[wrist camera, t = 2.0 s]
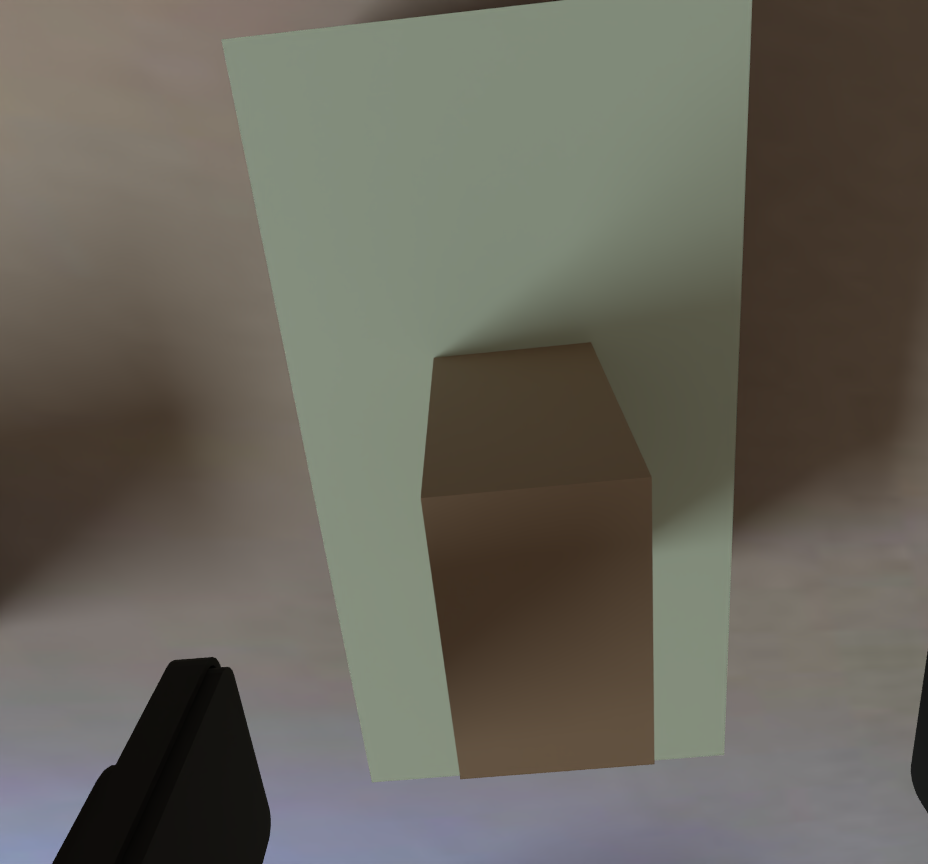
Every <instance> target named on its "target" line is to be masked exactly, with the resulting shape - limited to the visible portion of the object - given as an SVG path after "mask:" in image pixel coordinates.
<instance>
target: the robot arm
mask: <svg viewBox="0 0 928 864" xmlns="http://www.w3.org/2000/svg"><path fill="white" fill-rule="evenodd" d="M911 777H912V782H913V786H914V789H915V791H916V794H917V796H918V798H919V800H920V801H921V803H922V805H923V806H924V808H925V809H926V811H927V813H928V653H927V660H926V666H925V673H924V680H923V687H922V694H921V701H920V708H919V715H918V721H917V728H916V735H915V742H914V749H913V756H912V763H911ZM270 828H271V818H270V810H269V805H268V802H267V798H266V794H265V790H264V787H263V783H262V779H261V775H260V771H259V768H258V764H257V760H256V756H255V752H254V749H253V745H252V741H251V737H250V734H249V730H248V726H247V722H246V718H245V715H244V711H243V707H242V703H241V700H240V696H239V692H238V688H237V684H236V681H235V677H234V674H233V671H232V670H231V668H230V667H221V666H220V664H219V662H218V660H217V659H216V658H213V657H208V658H195V659H182V660H174V661H172V662H170V663H169V665H168V666H167V668H166V670H165V672H164V673H163V675H162V677H161V679H160V681H159V683H158V685H157V687H156V689H155V691H154V693H153V694H152V696H151V698H150V700H149V702H148V704H147V706H146V708H145V710H144V712H143V714H142V715H141V717H140V719H139V721H138V723H137V725H136V727H135V729H134V731H133V733H132V735H131V737H130V738H129V740H128V742H127V744H126V746H125V748H124V750H123V752H122V754H121V756H120V758H119V759H118V761H117V763H116V765H111V766H110V767H108V768H107V769H106V770H104V771H103V773H102V774H101V775H100V777H99V778H98V780H97V781H96V783H95V785H94V787H93V789H92V791H91V792H90V794H89V796H88V798H87V800H86V802H85V804H84V805H83V807H82V809H81V811H80V813H79V815H78V817H77V819H76V820H75V822H74V824H73V826H72V828H71V830H70V832H69V833H68V835H67V837H66V839H65V841H64V843H63V845H62V846H61V848H60V850H59V852H58V854H57V856H56V858H55V859H54V861H53V863H52V864H262V863H263V860H264V856H265V852H266V849H267V845H268V841H269V836H270Z"/></svg>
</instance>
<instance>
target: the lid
mask: <svg viewBox="0 0 928 864" xmlns="http://www.w3.org/2000/svg"><path fill="white" fill-rule="evenodd" d="M751 18H752V0H561V1H553V2H544V3H535V4H527V5H518V6H509V7H501V8H492V9H483V10H475V11H466V12H457V13H448V14H440V15H431V16H422V17H414V18H405V19H396V20H388V21H379V22H370V23H362V24H353V25H344V26H335V27H327V28H318V29H309V30H301V31H292V32H283V33H275V34H266V35H257V36H248V37H240V38H231V39H222V45H223V50H224V55H225V60H226V65H227V70H228V74H229V79H230V84H231V89H232V94H233V99H234V104H235V109H236V114H237V119H238V124H239V129H240V134H241V139H242V143H243V148H244V153H245V158H246V163H247V168H248V173H249V178H250V183H251V188H252V193H253V198H254V203H255V208H256V212H257V217H258V222H259V227H260V232H261V237H262V242H263V247H264V252H265V257H266V262H267V267H268V272H269V277H270V281H271V286H272V291H273V296H274V301H275V306H276V311H277V316H278V321H279V326H280V331H281V336H282V341H283V346H284V351H285V355H286V360H287V365H288V370H289V375H290V380H291V385H292V390H293V395H294V400H295V405H296V410H297V415H298V420H299V424H300V429H301V434H302V439H303V444H304V449H305V454H306V459H307V464H308V469H309V474H310V479H311V484H312V489H313V493H314V498H315V503H316V508H317V513H318V518H319V523H320V528H321V533H322V538H323V543H324V548H325V553H326V558H327V562H328V567H329V572H330V577H331V582H332V587H333V592H334V597H335V602H336V607H337V612H338V617H339V622H340V627H341V632H342V636H343V641H344V646H345V651H346V656H347V661H348V666H349V671H350V676H351V681H352V686H353V691H354V696H355V701H356V705H357V710H358V715H359V720H360V725H361V730H362V735H363V740H364V745H365V750H366V755H367V760H368V765H369V770H370V774H371V779H372V782H382V781H395V780H408V779H420V778H433V777H446V776H459V775H460V779H469V778H482V777H495V776H508V775H520V774H533V773H546V772H559V771H572V770H585V769H598V768H611V767H623V766H636V765H649V764H654V760H664V759H677V758H690V757H703V756H716V755H724V742H725V716H726V689H727V662H728V635H729V608H730V581H731V555H732V528H733V501H734V474H735V447H736V421H737V394H738V367H739V340H740V313H741V286H742V260H743V233H744V206H745V179H746V152H747V125H748V99H749V72H750V45H751Z"/></svg>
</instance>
